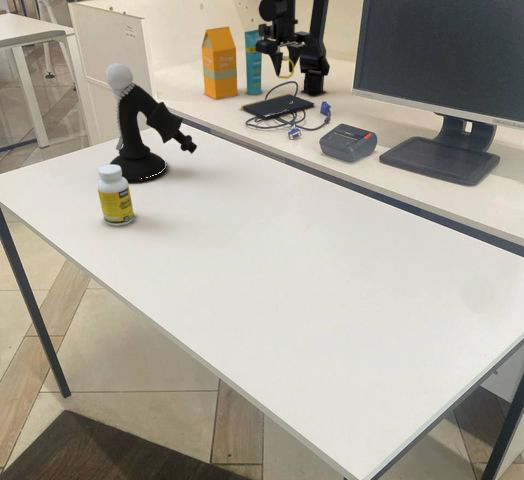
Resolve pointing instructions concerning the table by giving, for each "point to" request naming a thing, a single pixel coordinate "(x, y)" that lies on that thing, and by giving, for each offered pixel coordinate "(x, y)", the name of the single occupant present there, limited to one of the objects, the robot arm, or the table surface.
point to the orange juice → (219, 63)
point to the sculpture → (158, 117)
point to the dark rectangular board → (277, 106)
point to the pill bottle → (114, 195)
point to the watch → (286, 58)
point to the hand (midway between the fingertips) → (284, 73)
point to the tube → (253, 62)
